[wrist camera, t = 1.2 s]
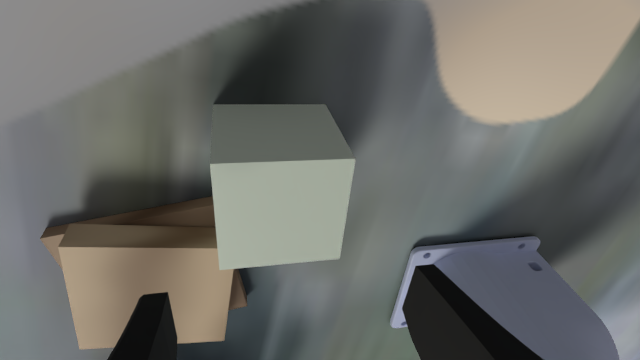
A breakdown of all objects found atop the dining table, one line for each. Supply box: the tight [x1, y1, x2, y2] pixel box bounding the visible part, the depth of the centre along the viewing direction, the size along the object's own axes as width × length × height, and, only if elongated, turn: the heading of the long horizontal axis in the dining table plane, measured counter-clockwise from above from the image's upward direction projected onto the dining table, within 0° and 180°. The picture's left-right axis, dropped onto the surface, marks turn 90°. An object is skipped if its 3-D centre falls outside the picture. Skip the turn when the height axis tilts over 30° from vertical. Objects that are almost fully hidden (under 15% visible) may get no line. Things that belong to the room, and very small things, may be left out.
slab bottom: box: [40, 196, 247, 310], centre depth 21 cm, size 8×8×2 cm
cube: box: [210, 104, 355, 270], centre depth 16 cm, size 5×5×5 cm
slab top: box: [58, 224, 234, 349], centre depth 20 cm, size 7×7×2 cm
